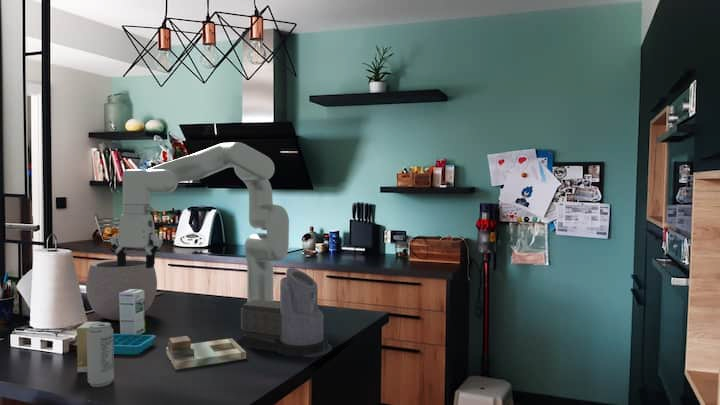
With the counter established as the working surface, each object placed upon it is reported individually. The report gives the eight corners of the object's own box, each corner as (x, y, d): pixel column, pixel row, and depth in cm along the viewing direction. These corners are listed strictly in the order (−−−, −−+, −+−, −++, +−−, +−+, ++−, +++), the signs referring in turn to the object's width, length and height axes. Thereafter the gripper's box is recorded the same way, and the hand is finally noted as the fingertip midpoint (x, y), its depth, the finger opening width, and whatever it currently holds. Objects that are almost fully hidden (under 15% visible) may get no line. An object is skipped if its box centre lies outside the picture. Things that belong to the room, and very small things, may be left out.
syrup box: (135, 336, 179) (135, 292, 178) (119, 335, 180) (118, 292, 179) (145, 332, 184) (145, 289, 184) (130, 331, 186) (129, 288, 185)
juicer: (339, 344, 173) (340, 267, 172) (318, 360, 158) (318, 275, 157) (257, 334, 184) (257, 261, 182) (229, 347, 169) (229, 268, 167)
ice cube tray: (139, 356, 161) (139, 346, 160) (73, 354, 162) (73, 344, 162) (157, 344, 172) (157, 335, 172) (95, 342, 174) (95, 333, 174)
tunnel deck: (231, 344, 171) (231, 331, 171) (245, 358, 158) (245, 345, 158) (166, 353, 162) (166, 340, 162) (175, 369, 149) (175, 355, 149)
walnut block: (187, 349, 160) (187, 335, 160) (190, 354, 156) (190, 340, 155) (169, 351, 158) (169, 338, 157) (172, 356, 153) (172, 342, 153)
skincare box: (86, 364, 152) (85, 321, 152) (102, 364, 153) (102, 321, 152) (76, 373, 146) (75, 327, 145) (93, 372, 146) (92, 327, 146)
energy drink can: (100, 377, 143) (99, 320, 142) (119, 380, 141) (118, 322, 140) (82, 386, 137) (81, 326, 136) (101, 389, 135) (101, 328, 134)
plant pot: (79, 316, 204) (78, 236, 203) (145, 307, 219) (145, 232, 217) (95, 331, 185) (94, 242, 184) (166, 320, 200) (165, 238, 199)
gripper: (168, 210, 167) (168, 266, 167) (118, 209, 171) (118, 263, 171) (154, 211, 160) (154, 270, 160) (102, 210, 163) (102, 267, 164)
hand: (135, 266), depth 166 cm, fingers open, 9 cm apart
